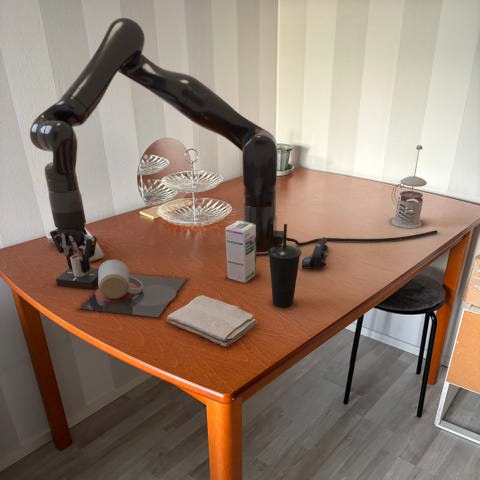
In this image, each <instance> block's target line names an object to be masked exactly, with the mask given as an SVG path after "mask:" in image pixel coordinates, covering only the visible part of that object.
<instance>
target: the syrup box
mask: <svg viewBox="0 0 480 480" xmlns="http://www.w3.org/2000/svg"><path fill="white" fill-rule="evenodd" d="M224 230H225V249H226V250H225V251H226V269H227V279H230V280H233V281H236V282H240V283H244V284H246V283H247V282H248V281H249V280H251V279H252V278H254V277H255V276H256V275H257V255H256V225H255V224H253V223H250V222H244V220H242V221H241V220H236V221H235V222H234V223H232V224H230V225H227V226H226V227H225V229H224Z"/></svg>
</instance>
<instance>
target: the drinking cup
mask: <svg viewBox="0 0 480 480" xmlns="http://www.w3.org/2000/svg"><path fill="white" fill-rule="evenodd" d="M283 231H284V238H283V244H280V245H276V246H273V247H271V248H269V249H268V254H267V255H268V259H269V261H268V262H269V272H270V284H271V295H272V298H271V299H272V305H273V306H274V307H276V308H279V309H288V308H290V307H291V308H292V306H293V305H294V299H295V291H296V285H297V278H298V272H299V271H298V270H299V265H300V260H301V259H300V258H301V256H302V250H301V248H299V246H296V245H292V244H288V243H287V241H286V239H287V238H288V237H287V236H288V235H287V234H288V224H287V223H284V224H283Z"/></svg>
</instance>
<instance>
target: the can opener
mask: <svg viewBox="0 0 480 480" xmlns="http://www.w3.org/2000/svg"><path fill="white" fill-rule="evenodd" d="M327 238H328V237H324V236H323V237H321V239H320V240H319V241H318V242H316V244H315V247H314V249H313V252H312V255H308V256H304V257H303V258H302V261H301V267H302V268H304V269H312V268H313V267H314V268H315V269H322V268H325V267H326V266H327V263H326V262H327V261H326V259H327V258H328V257H329V246H328V245H327V243H328V241H327V240H328V239H327Z"/></svg>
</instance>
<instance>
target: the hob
mask: <svg viewBox="0 0 480 480" xmlns="http://www.w3.org/2000/svg"><path fill="white" fill-rule="evenodd" d="M129 276H131V277H133V278H135V279H137V280H139V281H140V282H141V283H142V284H143V289H142V292H141V293H139V294H132V293H128V292H127V293H126V294H125V295H124V296H123V297H121V298H119V299H109V298H107V297H105V296H104V295H103V294H102V293H101V292H100V289H99V287H98V288H97V289H96V290H95V292H94V294H93V295H92V296H90V297H89V298H88V300H86V302H84V303H83V304H82V305H81V306H80V307H79V310H81V311H91V312H99V313H107V314H108V313H109V314H117V315H125V316H132V317H133V316H134V317H143V318H151V319H159V318H160V317H161V315H162V314H163V312H164V311H165V310H166V308H168V305H169V304H170V303H171V302H172V301H173V300H174V299H175V298H176V296H177V293H178V292H179V291H180V289H181V288H182V286H183V285H184V284H185V282H187V281H186V280H187V279H186V278H178V277H169V276H168V277H167V276H159V275H158V276H156V275H148V274H147V275H146V274H136V273H129ZM129 287H131V288H135V289H139V287H138V286H137V285H135V284H133V283H131V282H129Z"/></svg>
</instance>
